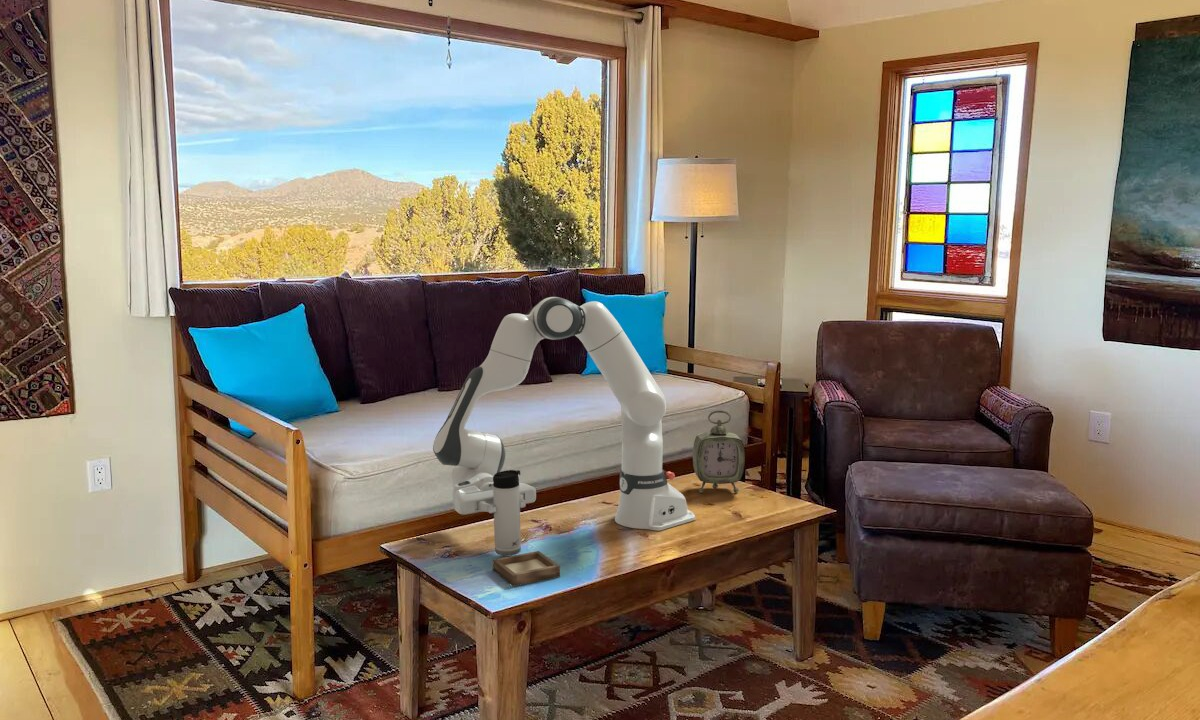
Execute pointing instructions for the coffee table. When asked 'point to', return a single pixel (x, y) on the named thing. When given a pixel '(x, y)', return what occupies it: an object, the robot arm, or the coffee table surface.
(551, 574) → the tray
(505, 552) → the travel mug
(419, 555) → the coffee table surface
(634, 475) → the robot arm
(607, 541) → the coffee table surface
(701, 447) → the tabletop clock
